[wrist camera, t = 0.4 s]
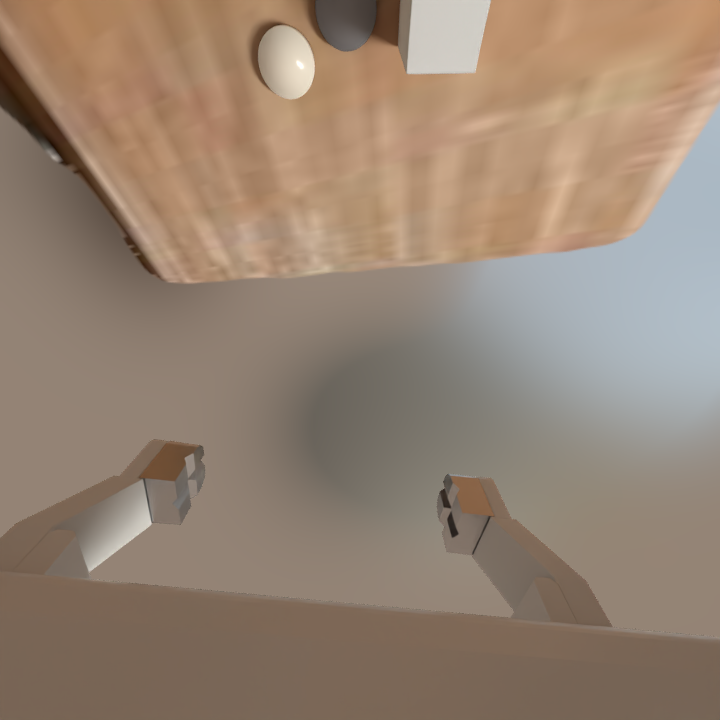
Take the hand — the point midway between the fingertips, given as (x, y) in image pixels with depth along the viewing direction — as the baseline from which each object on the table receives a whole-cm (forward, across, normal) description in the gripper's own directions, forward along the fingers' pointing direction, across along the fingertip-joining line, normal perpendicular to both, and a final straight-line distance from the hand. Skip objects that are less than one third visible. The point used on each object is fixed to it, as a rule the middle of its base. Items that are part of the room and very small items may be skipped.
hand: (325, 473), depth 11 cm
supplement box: (+45, -5, -29) cm, 54 cm away
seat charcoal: (+45, +5, -28) cm, 53 cm away
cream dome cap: (+47, +12, -22) cm, 53 cm away
